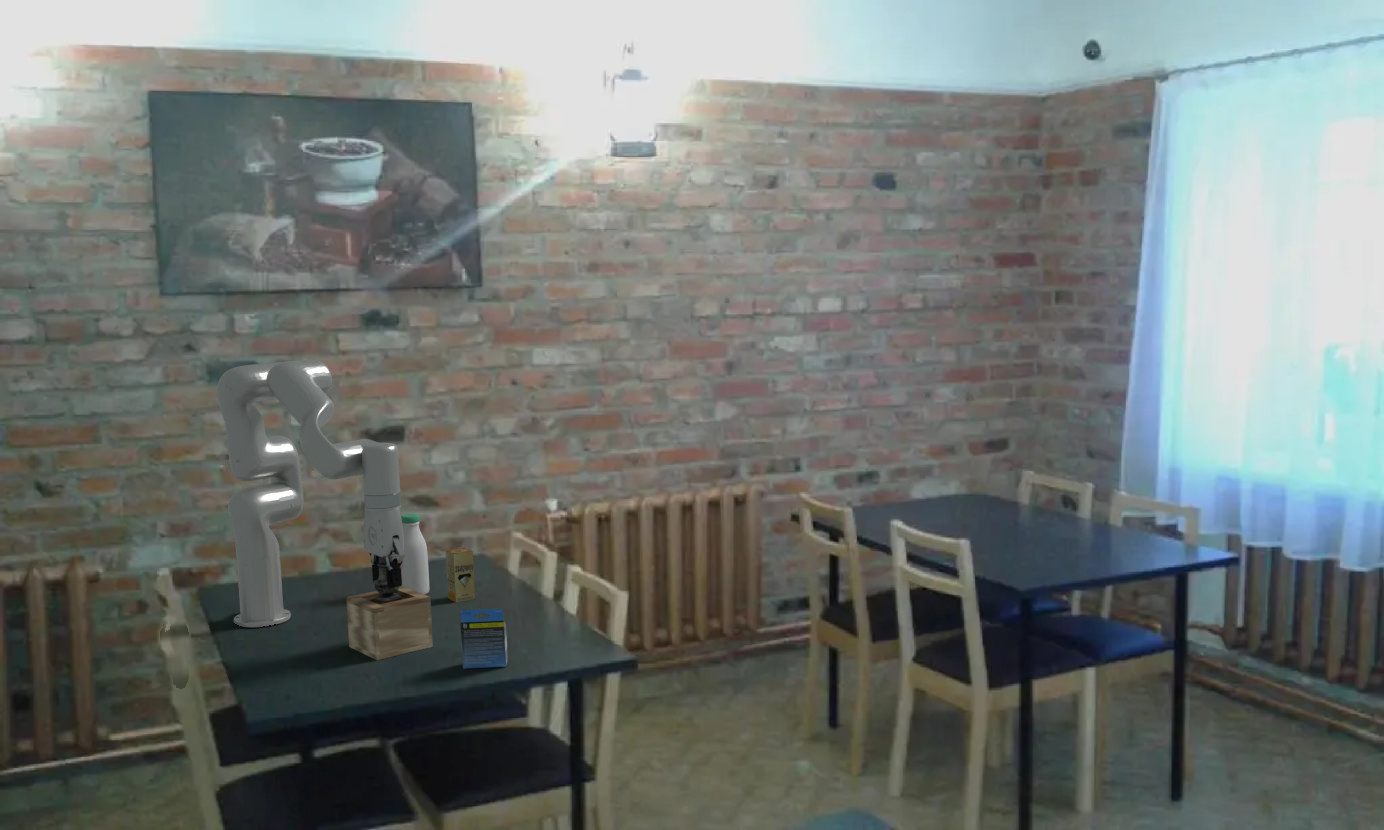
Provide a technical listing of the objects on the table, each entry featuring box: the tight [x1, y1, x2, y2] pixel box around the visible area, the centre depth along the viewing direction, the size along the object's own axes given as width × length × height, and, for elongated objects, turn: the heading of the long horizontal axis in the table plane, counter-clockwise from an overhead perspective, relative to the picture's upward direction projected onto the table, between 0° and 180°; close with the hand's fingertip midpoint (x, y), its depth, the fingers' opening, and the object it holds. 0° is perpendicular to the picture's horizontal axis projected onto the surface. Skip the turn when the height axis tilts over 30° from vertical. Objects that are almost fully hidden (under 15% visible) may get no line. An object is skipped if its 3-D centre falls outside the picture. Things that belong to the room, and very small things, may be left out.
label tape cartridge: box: [459, 607, 508, 670], centre depth 252 cm, size 9×4×12 cm, turn 92°
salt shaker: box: [372, 552, 401, 601], centre depth 265 cm, size 6×6×12 cm
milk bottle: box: [401, 513, 430, 595], centre depth 310 cm, size 8×8×20 cm
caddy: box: [345, 586, 434, 661], centre depth 266 cm, size 13×13×11 cm
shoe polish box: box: [445, 547, 476, 604], centre depth 304 cm, size 5×5×12 cm
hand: (387, 583), depth 265 cm, fingers closed on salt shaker, 5 cm apart
